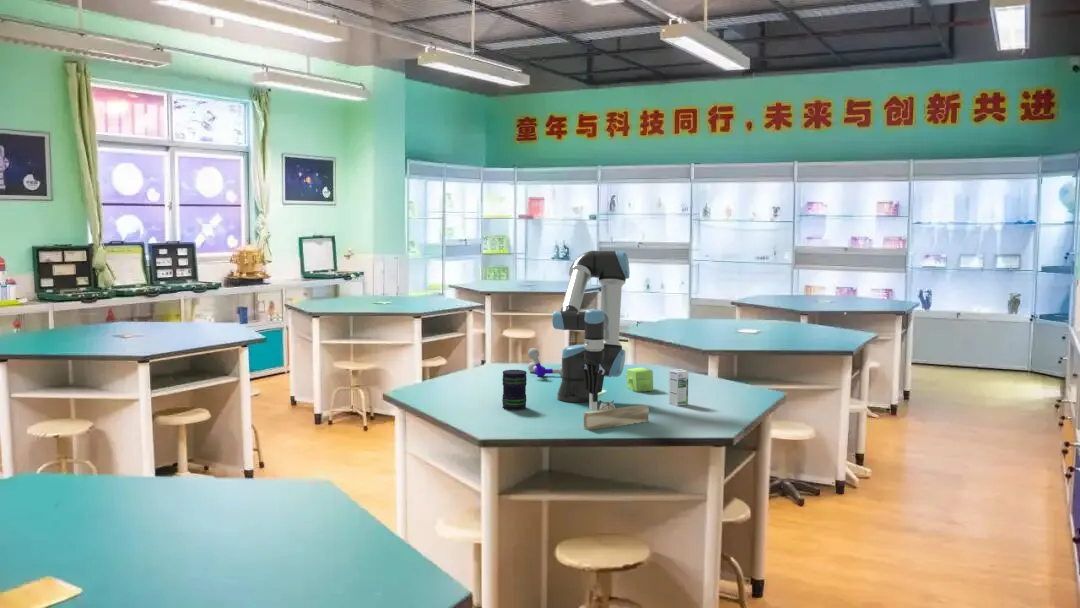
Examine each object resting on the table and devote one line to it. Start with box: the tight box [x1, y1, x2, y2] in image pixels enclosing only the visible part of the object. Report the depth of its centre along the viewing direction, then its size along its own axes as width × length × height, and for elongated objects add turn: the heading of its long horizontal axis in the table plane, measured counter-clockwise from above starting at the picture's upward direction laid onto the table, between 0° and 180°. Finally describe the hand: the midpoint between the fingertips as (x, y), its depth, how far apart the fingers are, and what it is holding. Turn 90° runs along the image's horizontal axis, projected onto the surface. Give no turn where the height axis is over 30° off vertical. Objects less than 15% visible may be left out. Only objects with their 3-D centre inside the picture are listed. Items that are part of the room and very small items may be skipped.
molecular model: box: [527, 347, 562, 378], centre depth 432 cm, size 21×21×15 cm
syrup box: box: [668, 368, 689, 407], centre depth 365 cm, size 6×6×14 cm
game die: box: [596, 400, 617, 411], centre depth 331 cm, size 9×8×10 cm
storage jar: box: [501, 369, 527, 411], centre depth 353 cm, size 10×10×15 cm
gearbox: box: [625, 367, 654, 392], centre depth 398 cm, size 18×10×10 cm, turn 18°
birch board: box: [583, 404, 650, 431], centre depth 325 cm, size 3×28×6 cm, turn 122°
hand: (593, 409), depth 339 cm, fingers closed
